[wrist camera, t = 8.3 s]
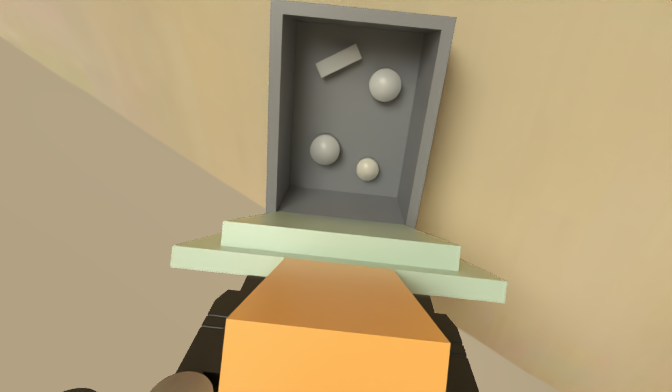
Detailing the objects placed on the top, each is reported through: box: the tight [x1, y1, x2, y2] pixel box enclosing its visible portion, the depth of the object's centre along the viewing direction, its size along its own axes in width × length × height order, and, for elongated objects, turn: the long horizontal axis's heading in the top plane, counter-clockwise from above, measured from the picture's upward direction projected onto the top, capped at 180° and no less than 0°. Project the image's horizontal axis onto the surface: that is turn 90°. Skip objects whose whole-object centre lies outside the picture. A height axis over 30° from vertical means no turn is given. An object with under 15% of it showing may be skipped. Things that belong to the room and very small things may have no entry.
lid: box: [170, 211, 507, 392], centre depth 18 cm, size 12×23×4 cm
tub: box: [266, 0, 457, 229], centre depth 30 cm, size 12×16×7 cm
